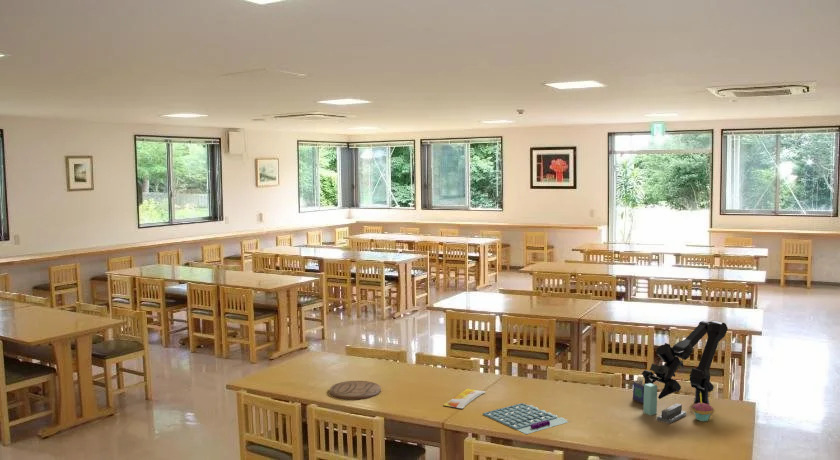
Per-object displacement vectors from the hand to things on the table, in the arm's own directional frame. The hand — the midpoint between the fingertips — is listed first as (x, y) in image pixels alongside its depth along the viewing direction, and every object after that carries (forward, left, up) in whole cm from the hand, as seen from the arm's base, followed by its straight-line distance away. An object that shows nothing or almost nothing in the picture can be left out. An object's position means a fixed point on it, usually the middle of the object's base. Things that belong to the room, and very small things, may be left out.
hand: (650, 395), depth 315 cm
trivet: (+19, -137, -9) cm, 139 cm away
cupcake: (0, +22, -8) cm, 23 cm away
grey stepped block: (+3, +9, -8) cm, 12 cm away
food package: (+12, -83, -9) cm, 85 cm away
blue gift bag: (-14, -5, -8) cm, 18 cm away
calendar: (+26, -51, -9) cm, 57 cm away
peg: (0, 0, -8) cm, 8 cm away
